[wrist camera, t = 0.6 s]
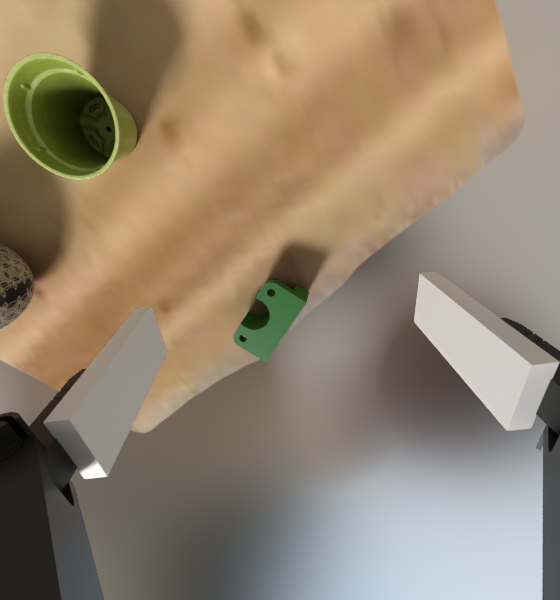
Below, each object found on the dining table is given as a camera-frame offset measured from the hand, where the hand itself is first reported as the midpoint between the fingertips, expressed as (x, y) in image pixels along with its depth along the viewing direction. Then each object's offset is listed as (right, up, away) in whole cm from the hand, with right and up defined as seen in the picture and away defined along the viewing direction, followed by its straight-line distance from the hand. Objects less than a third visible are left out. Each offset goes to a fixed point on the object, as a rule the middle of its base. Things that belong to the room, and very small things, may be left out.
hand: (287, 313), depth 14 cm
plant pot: (-20, +20, +19) cm, 34 cm away
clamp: (-2, 0, +30) cm, 30 cm away
